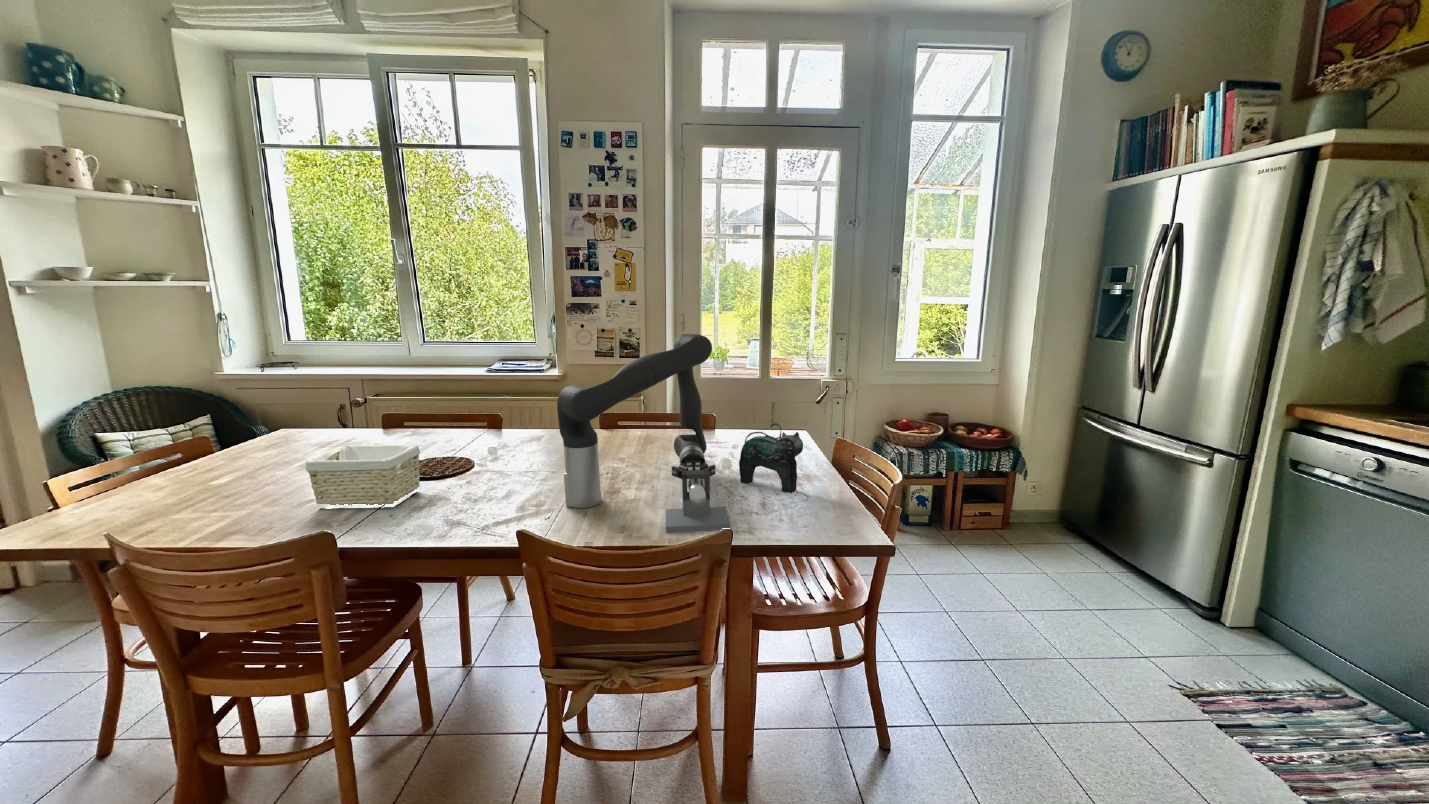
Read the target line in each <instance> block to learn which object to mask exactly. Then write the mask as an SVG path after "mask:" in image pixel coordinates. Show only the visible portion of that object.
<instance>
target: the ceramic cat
mask: <svg viewBox="0 0 1429 804" xmlns="http://www.w3.org/2000/svg"><path fill="white" fill-rule="evenodd" d="M773 426H777V427H779V429H780V431H779V436H778V437H774V436H771V435H769V434H767V433H765V432H762V431H754V432H750V433H749V434H747V436H746V437H745V440H744V444H743V446H742V447H741V450H740V456H739V461H738V467H739V468H738V469H739V478H740V483H742V484H746V485H751V484H752V483H753V481H754V476H755V475H754V473H755V471H756V468H758V467H762V468H765V469H768V470H772V471H775V472H776V473H777V475H778V476H779V480H780V483H781V492H782V493H788V492H790V493H789V494H793V493H795V492H796V491H797V482H798V473H797V471H798V469H797V467H798V464H797V460H796V457H797V456H799V455H800V454H801V453H802V452H803V450H804V442H803V440H802V439H801V437H800V434H799V432H797V431H796V432H795V433H794V434H786V433H785V432H784V431H782V427H781V425H780V424H779V423H775V422H774V423H772V424H771V425H770V428H772V427H773ZM754 434H763V435H764V436H762V435H757V436H754V437H751V435H754ZM749 437H751V438H750V439H748V438H749ZM747 439H748V440H747ZM795 490H796V491H795ZM792 492H793V493H792Z"/></svg>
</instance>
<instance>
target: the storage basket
mask: <svg viewBox="0 0 1429 804" xmlns="http://www.w3.org/2000/svg"><path fill="white" fill-rule="evenodd" d="M420 454H421V450H420V447H419V445H418V444H378V445H377V444H373V445H370V444H368V445H367V444H352V445H351V444H344V445H340V446H338V447H336V448H333V449H331V450H328V451H325V452H323V453H321V454H319V455H316V456H314V457H311V458H309V459H307V460H306V461H305V471H307V472H308V475H309V479H310V483H311V489H312V490H313V495H314V497H315V502H316V505H317V504H330V505H336V504H339V505H344V504H348V505H350V504H351V505H352V504H366V505H368V504H369V505H374V504H378V505H382V504H393V503H394V501H398V500H399V499H400V498H402V497H404V496H405V495H408V494H409V493H411V492H413V491H414V490H415V489H417V488H418V487H420V482H421V481H420V477H421V476H420V465H419V463H420V456H419V455H420ZM420 488H421V487H420Z"/></svg>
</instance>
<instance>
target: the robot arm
mask: <svg viewBox="0 0 1429 804" xmlns="http://www.w3.org/2000/svg"><path fill="white" fill-rule="evenodd" d="M673 343H674V344H673V348H672V349H669V350H665V351H658V352H653V353H650V354H646V355H643V356H640V357H638V358H635V359H634V360H632V361H630V362H627V363H626V364H624V365H623V366H622V367H621V368H619V370H618V371H616V373H615V374H614V375H613V376H612V377H611V378H609V379H608V380H606V381H603V382H601V383H599V384H596V385H592V386H589V387H584V386H581V385H580V386H579V385H575V384H574V385H568V386H566V387H564V388H562V390H561V391H560V392H559V394H558V397H557V401H556V406H557V407H556V408H557V409H556V410H557V419H558V427H559V433H560V436H561V438H562V443H563V444H562V445H563V455H564V469H565V471H564V473H563V481H564V494H565V495H564V496H565V507H570V508H573V507H574V508H576V509H585V508H587V509H588V508H592V507H594V506H597V505H598V504H600V503H601V502H602V492H601V478H600V477H601V476H600V457H599V455H600V454H599V440H598V439H599V438H598V433H597V432H596V430H595V429H594V427H593V426H592V424H591V421H592V420H594V419H596V418H598V417H599V416H600V415H602V414H603V413H605V412H607V411H608V410H609V409H611V408H612V407H614V406H616V405H617V404H620V403H621V402H623V401H626V400H627V399H630V398H632V397H634V396H635V395H638V394H640V393H642V392H645V391H646V390H649V389H650V388H652V387H654V386H656V385H658V384H659V383H661V382H663V381H665V380H667V379H669V378H670V377H672V376H674V375H676V377H677V383H678V393H679V394H678V395H679V425H680V427H682V428H685V429H690V430H692V431H693V432H695V434H679V435H677V436H676V437H675V438H674V442H673V450H674V452H675V454H676V456H677V457H678V458H679V465H678V466H674V465H672V466H671V476H673V477H675V478H677V479H681V480H682V471H695V470H709V473H710V477H712V476H714V475H716V465H715V464H711V465H709V464H708V463H706V458H705V453H706V451H707V447H708V446H707V441H706V437H705V435H704V431H703V427H702V399H701V395H700V392H699V390H698V387H697V384H696V381H695V377H694V367H696V366H698V365H701V364H703V363H705V362H706V361H707V360H709V358H710V356H712V351H713V345H712V342H711V341H710V339H709V338H708V336H707V337H706V336H704V335H702V334H699V333H698V334H697V333H696V334H693V333H683V334H680V335H678V336H677V337H676V339H675V341H674V342H673ZM702 480H704V478H703V479H702Z"/></svg>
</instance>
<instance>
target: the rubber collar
mask: <svg viewBox="0 0 1429 804" xmlns="http://www.w3.org/2000/svg"><path fill="white" fill-rule="evenodd" d="M710 477H711V476H710V473H709V470H695V471H682V479H681V480H682V481H681V483H682V484H681V486H682V487H681V489H682V490H681V491H682V492H681V493H682V502H683V501H687V500H690V496H689V491H688V480H689V479H702V480H703V484H704V489H705V494H706V500H710V501H711V478H710ZM703 478H704V479H703Z"/></svg>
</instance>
